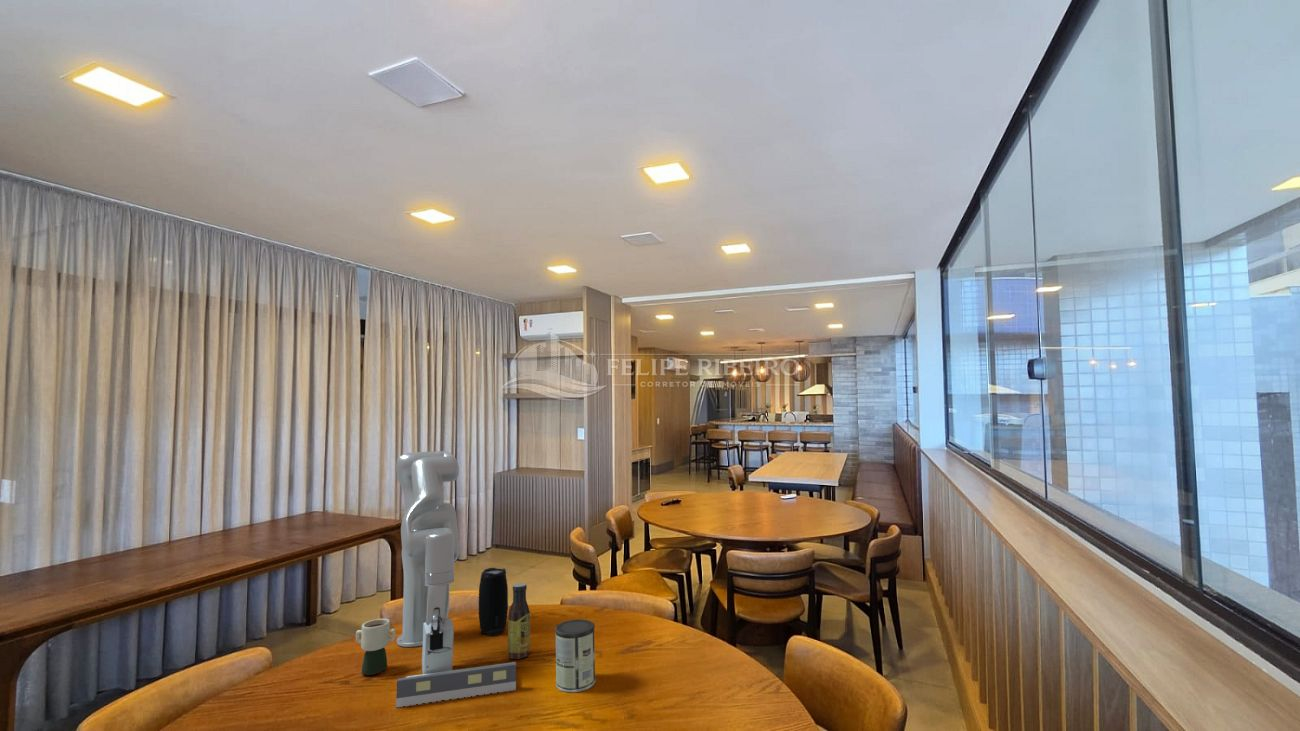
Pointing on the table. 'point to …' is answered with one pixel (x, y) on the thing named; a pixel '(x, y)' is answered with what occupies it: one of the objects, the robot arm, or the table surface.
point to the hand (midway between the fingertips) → (438, 642)
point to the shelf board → (455, 692)
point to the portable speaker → (493, 601)
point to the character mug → (375, 644)
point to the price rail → (455, 680)
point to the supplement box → (440, 657)
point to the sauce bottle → (519, 624)
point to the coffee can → (575, 655)
